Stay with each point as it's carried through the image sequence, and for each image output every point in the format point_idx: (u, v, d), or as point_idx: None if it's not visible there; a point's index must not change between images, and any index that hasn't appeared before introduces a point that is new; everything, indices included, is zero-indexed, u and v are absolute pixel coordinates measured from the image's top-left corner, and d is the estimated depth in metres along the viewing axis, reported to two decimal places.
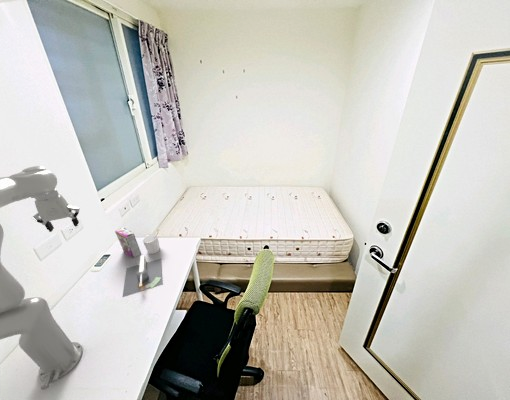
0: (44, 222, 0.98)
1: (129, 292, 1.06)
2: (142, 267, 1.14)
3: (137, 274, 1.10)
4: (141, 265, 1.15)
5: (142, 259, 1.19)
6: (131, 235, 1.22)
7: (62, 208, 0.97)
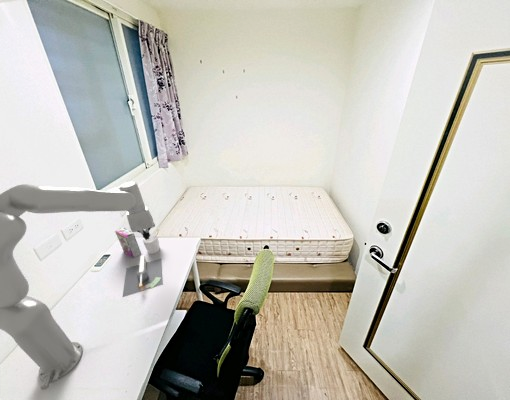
0: (141, 232, 1.09)
1: (129, 292, 1.06)
2: (142, 267, 1.14)
3: (137, 274, 1.10)
4: (141, 265, 1.15)
5: (142, 259, 1.19)
6: (131, 235, 1.22)
7: (148, 219, 1.06)
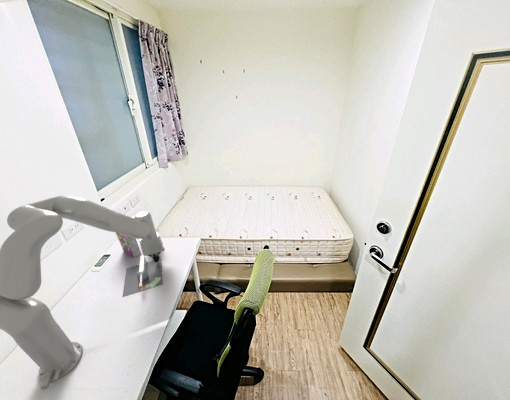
0: (152, 255, 1.18)
1: (129, 292, 1.06)
2: (142, 267, 1.14)
3: (137, 274, 1.10)
4: (141, 265, 1.15)
5: (142, 259, 1.19)
6: None
7: (159, 244, 1.15)
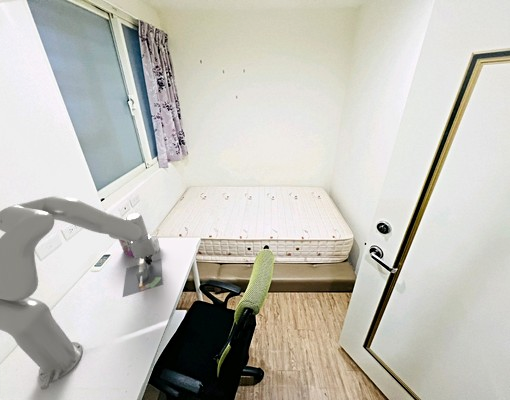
0: (144, 258, 1.17)
1: (129, 292, 1.06)
2: (142, 267, 1.14)
3: (137, 274, 1.10)
4: (141, 265, 1.15)
5: (142, 259, 1.19)
6: None
7: (151, 247, 1.14)
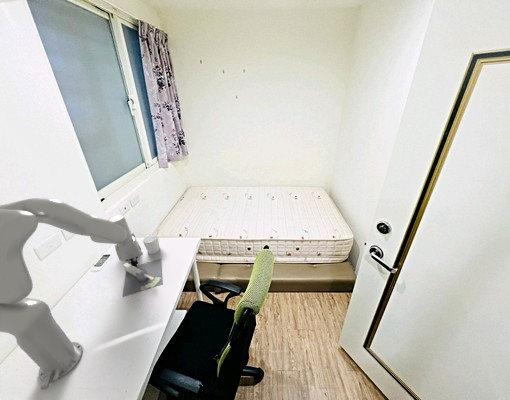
0: (129, 260, 1.14)
1: (129, 292, 1.06)
2: (137, 269, 1.13)
3: (138, 275, 1.09)
4: (134, 269, 1.13)
5: (129, 265, 1.15)
6: None
7: (136, 249, 1.12)
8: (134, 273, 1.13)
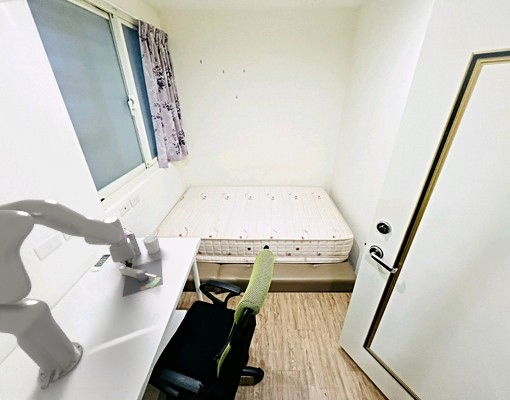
0: (123, 262, 1.14)
1: (129, 292, 1.06)
2: (136, 270, 1.12)
3: (139, 275, 1.09)
4: (132, 270, 1.12)
5: (126, 268, 1.14)
6: (131, 235, 1.22)
7: (130, 251, 1.11)
8: (133, 274, 1.12)
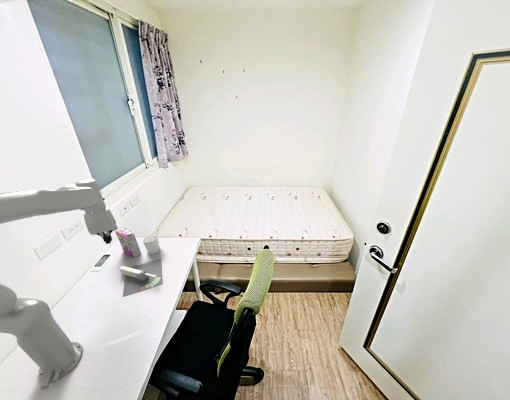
0: (101, 235, 0.99)
1: (129, 292, 1.06)
2: (136, 270, 1.12)
3: (139, 275, 1.09)
4: (132, 270, 1.12)
5: (126, 268, 1.14)
6: (131, 235, 1.22)
7: (109, 221, 0.97)
8: (133, 274, 1.12)
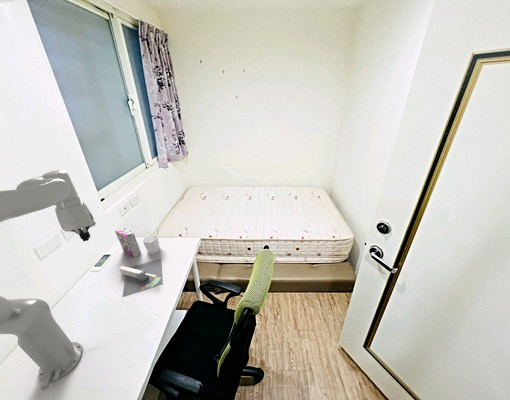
0: (77, 231, 0.91)
1: (129, 292, 1.06)
2: (136, 270, 1.12)
3: (139, 275, 1.09)
4: (132, 270, 1.12)
5: (126, 268, 1.14)
6: (131, 235, 1.22)
7: (84, 216, 0.88)
8: (133, 274, 1.12)
